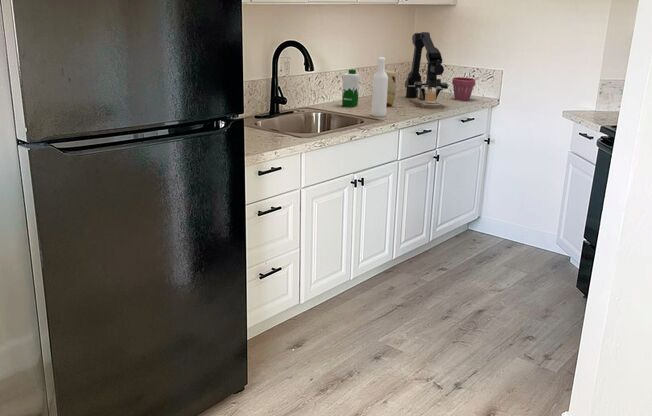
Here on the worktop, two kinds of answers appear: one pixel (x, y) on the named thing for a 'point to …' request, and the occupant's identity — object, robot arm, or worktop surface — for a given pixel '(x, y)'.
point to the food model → (391, 87)
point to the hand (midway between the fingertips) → (429, 100)
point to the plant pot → (463, 88)
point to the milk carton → (350, 89)
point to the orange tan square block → (430, 96)
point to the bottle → (379, 90)
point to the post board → (425, 102)
